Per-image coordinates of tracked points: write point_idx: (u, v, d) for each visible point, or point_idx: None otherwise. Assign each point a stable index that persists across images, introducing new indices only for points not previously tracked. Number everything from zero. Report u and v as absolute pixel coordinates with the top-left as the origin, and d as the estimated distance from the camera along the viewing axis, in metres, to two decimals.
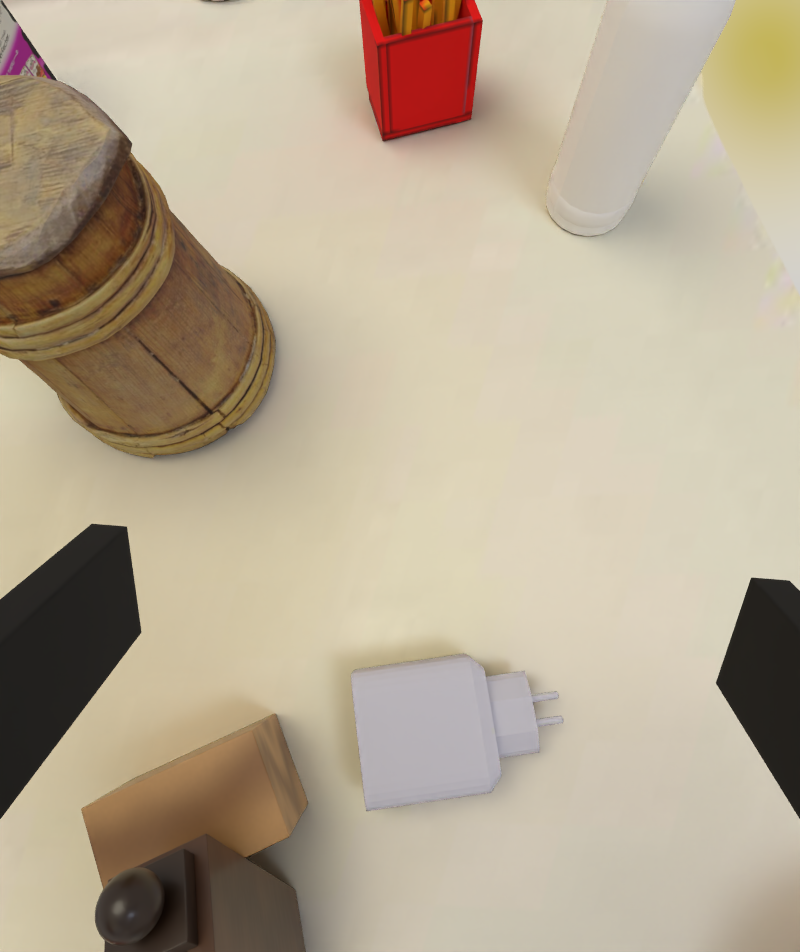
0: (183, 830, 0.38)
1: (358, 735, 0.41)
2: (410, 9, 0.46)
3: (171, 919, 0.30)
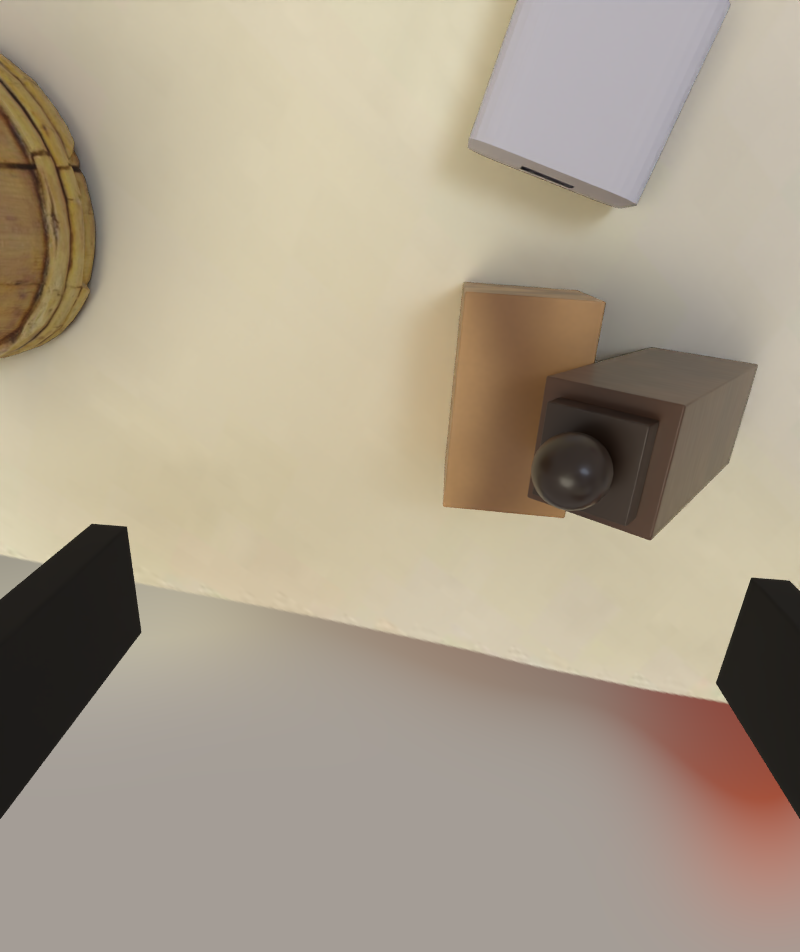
0: (525, 416, 0.31)
1: (548, 165, 0.29)
2: None
3: (614, 437, 0.24)
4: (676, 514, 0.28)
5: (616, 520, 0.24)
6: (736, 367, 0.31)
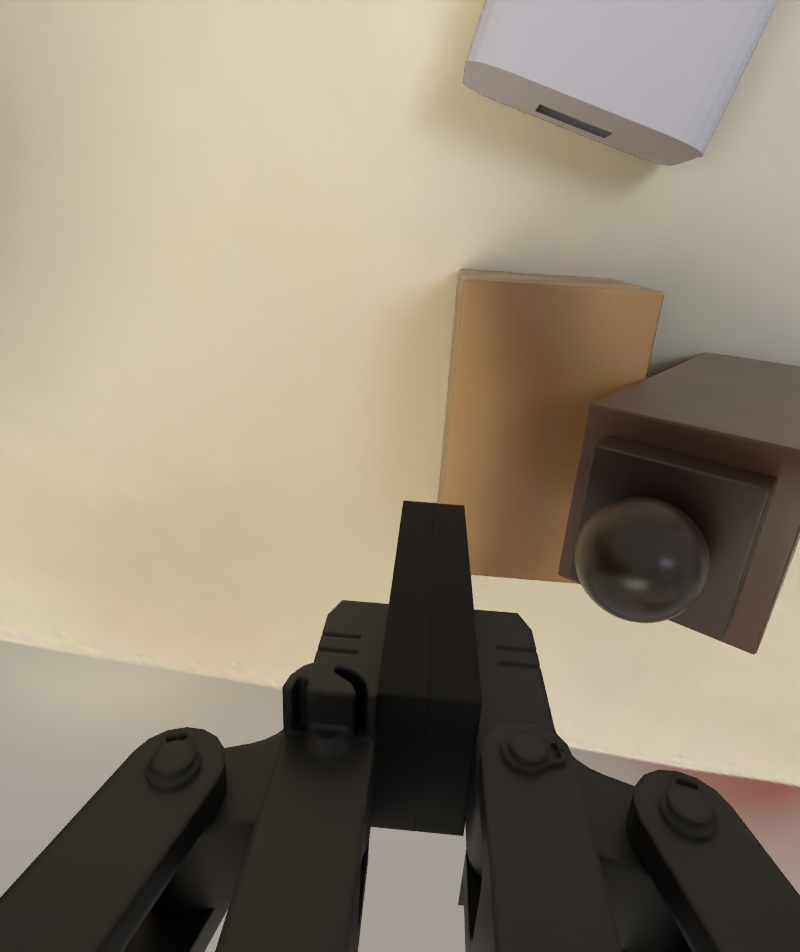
0: (548, 453, 0.23)
1: (579, 96, 0.20)
2: None
3: (705, 504, 0.15)
4: None
5: (706, 629, 0.16)
6: None
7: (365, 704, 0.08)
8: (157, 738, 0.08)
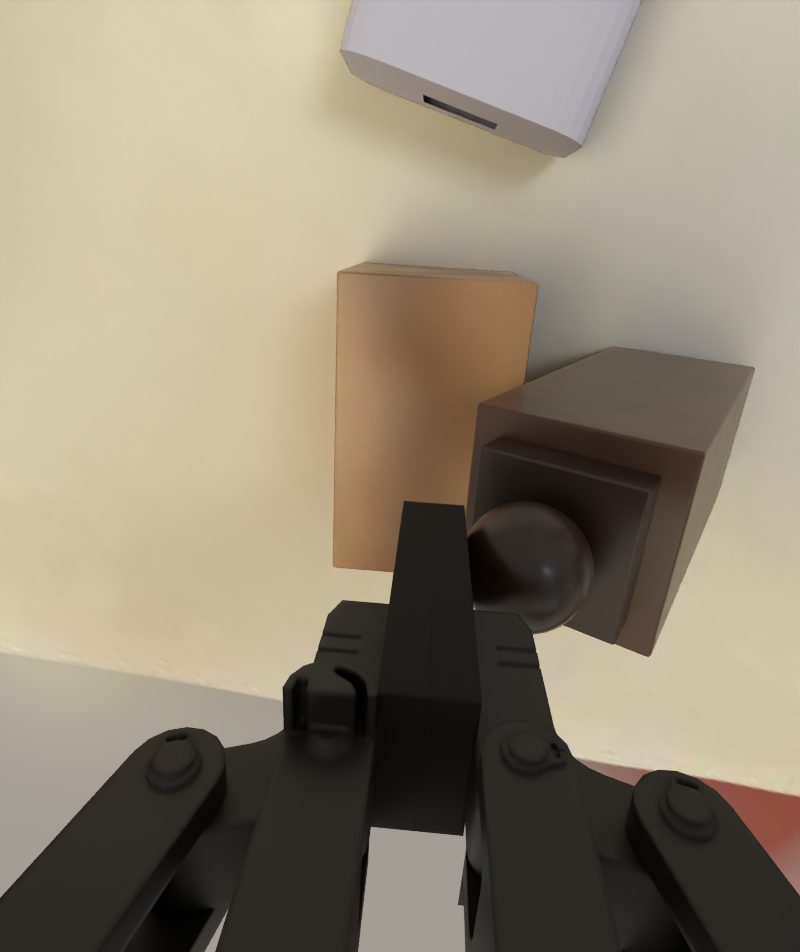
0: (435, 447, 0.23)
1: (452, 86, 0.20)
2: None
3: (590, 506, 0.14)
4: None
5: (598, 634, 0.15)
6: (732, 373, 0.23)
7: (365, 704, 0.08)
8: (157, 739, 0.08)
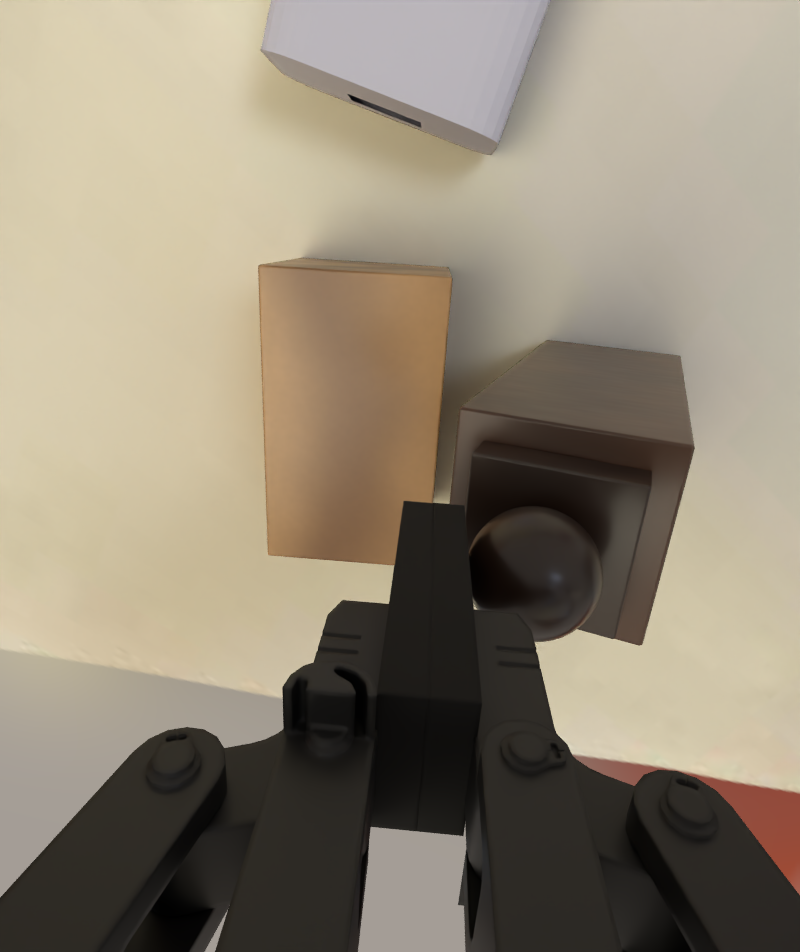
0: (360, 436, 0.23)
1: (367, 85, 0.21)
2: None
3: (589, 506, 0.14)
4: None
5: (598, 631, 0.15)
6: (666, 362, 0.24)
7: (365, 704, 0.08)
8: (157, 738, 0.08)
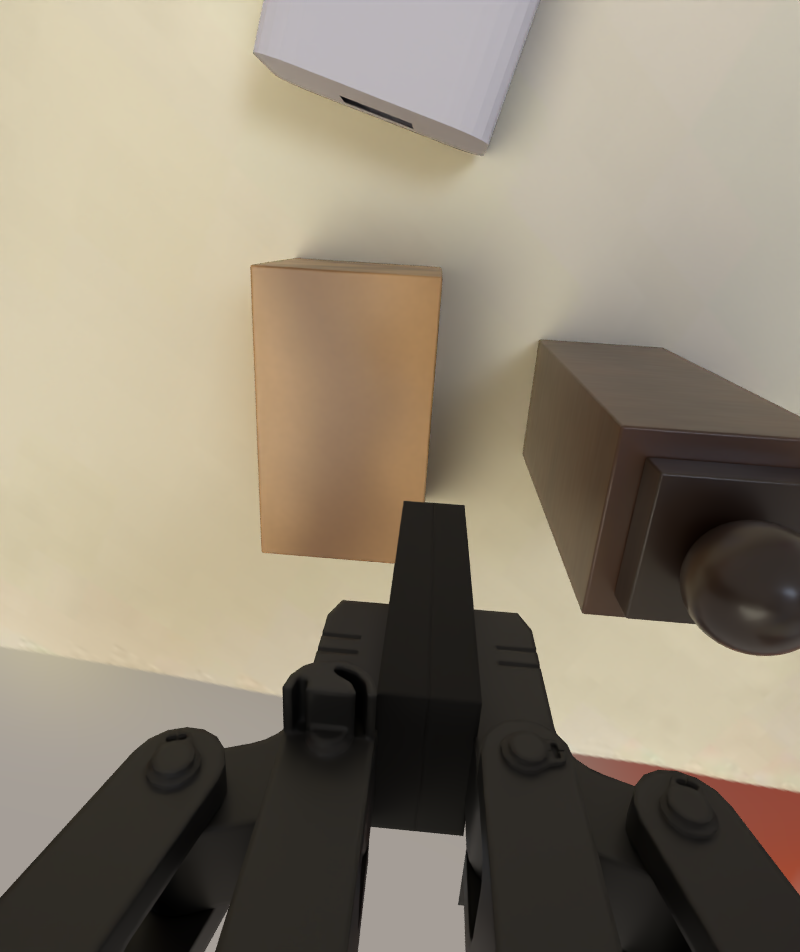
0: (352, 435, 0.23)
1: (358, 87, 0.21)
2: None
3: (779, 511, 0.15)
4: None
5: None
6: (669, 356, 0.26)
7: (365, 704, 0.08)
8: (157, 739, 0.08)
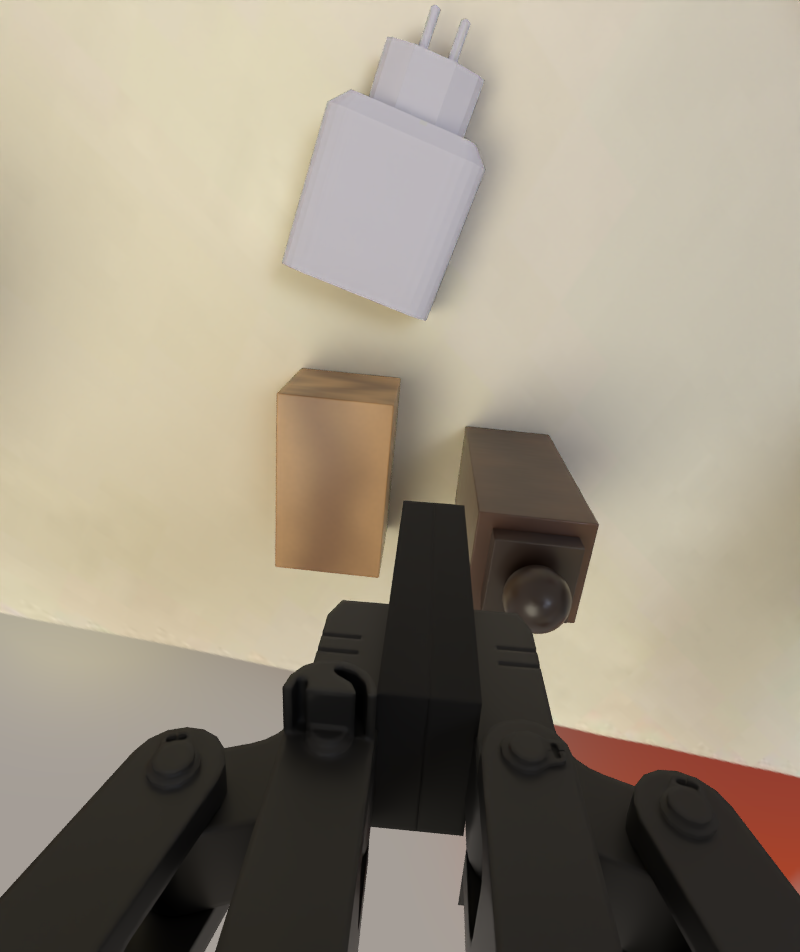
0: (337, 495, 0.37)
1: (346, 288, 0.34)
2: None
3: (556, 560, 0.28)
4: None
5: None
6: (546, 445, 0.40)
7: (365, 704, 0.08)
8: (157, 739, 0.08)
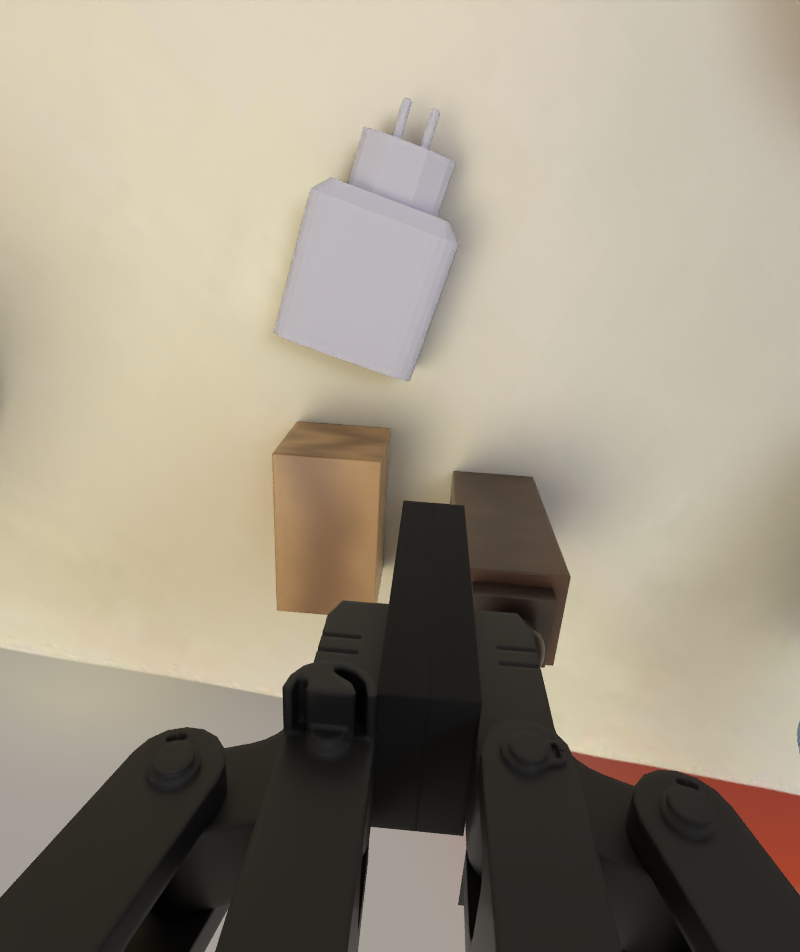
0: (332, 544, 0.39)
1: (333, 355, 0.37)
2: None
3: (531, 611, 0.31)
4: None
5: None
6: (529, 488, 0.42)
7: (365, 704, 0.08)
8: (157, 739, 0.08)
